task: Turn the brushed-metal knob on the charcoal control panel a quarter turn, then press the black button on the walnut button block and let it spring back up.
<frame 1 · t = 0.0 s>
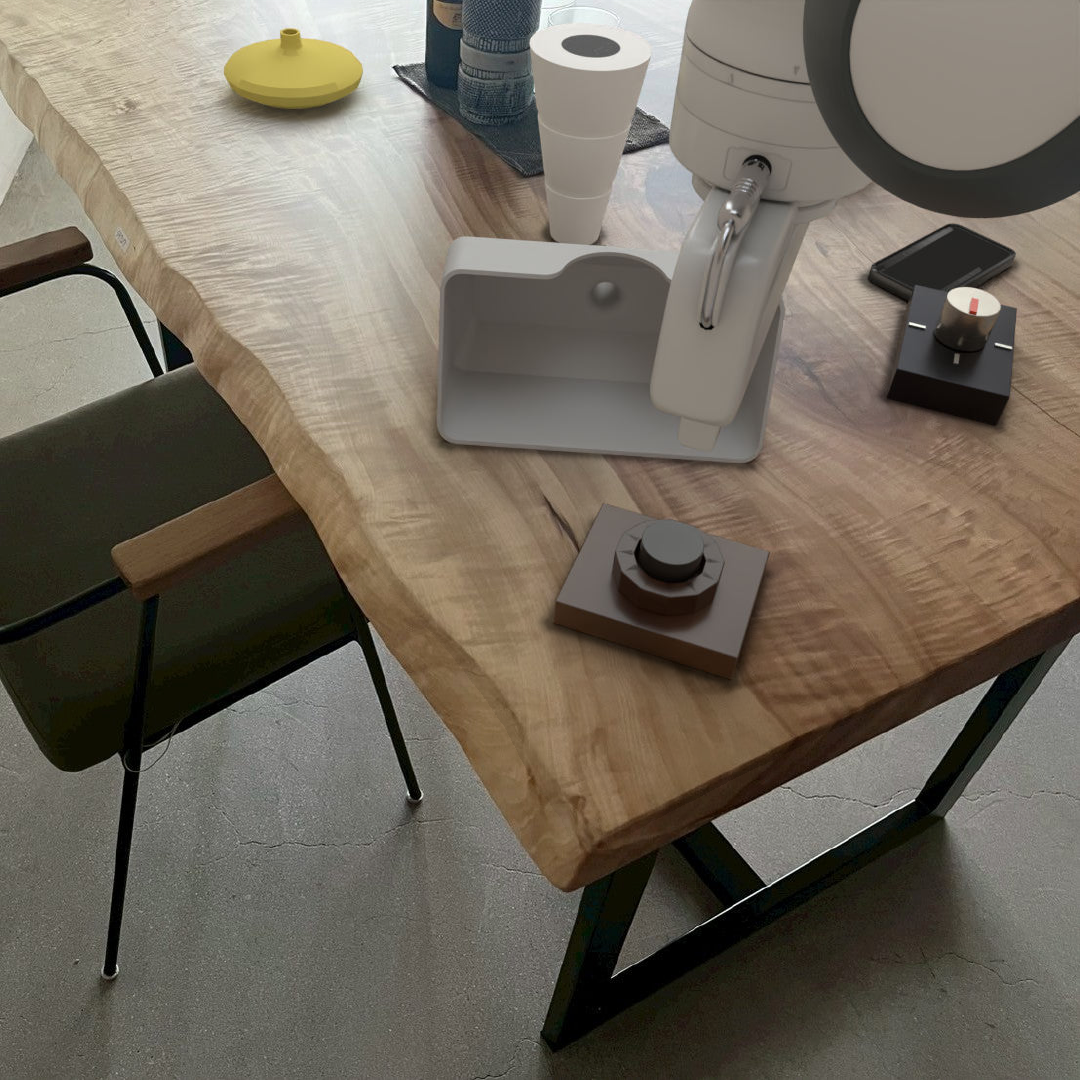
hand: (720, 384, 53), 21 cm above the table, tool pointing down, fingers open, 8 cm apart
vase: (297, 96, 123), on the table
phone: (940, 272, 103), on the table
panel: (947, 365, 91), on the table
knob: (967, 317, 88), point 5 cm above the table, hinge at 0.0°
bowl: (800, 164, 118), on the table
white tapered cylinder: (574, 235, 104), on the table
grey storage bin: (598, 392, 86), on the table
apple: (956, 185, 116), on the table
button block: (661, 597, 71), on the table
button: (671, 551, 67), point 4 cm above the table, slide at 0.1 cm
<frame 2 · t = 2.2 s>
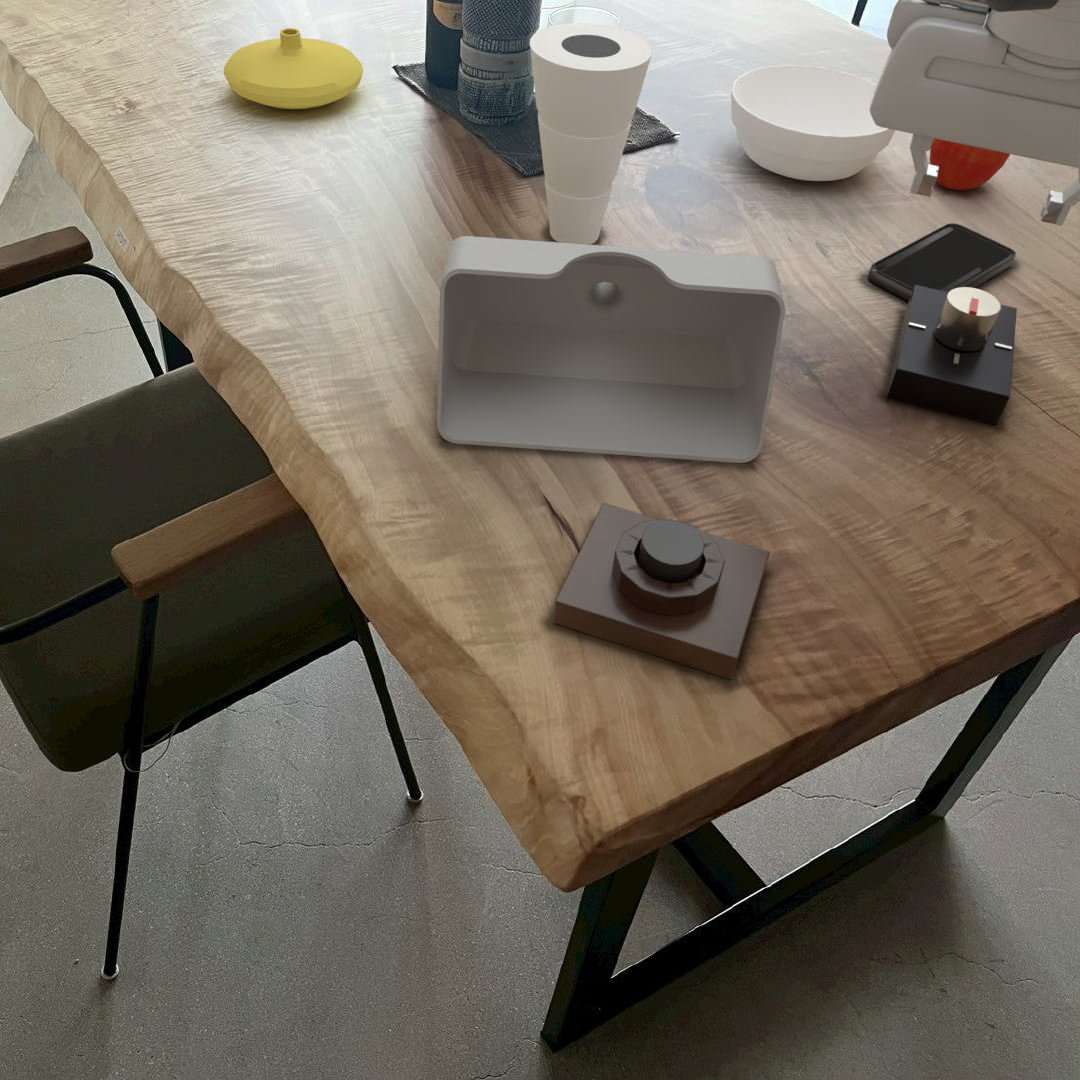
hand: (984, 205, 77), 17 cm above the table, tool pointing down, fingers open, 8 cm apart
nothing on the table moved.
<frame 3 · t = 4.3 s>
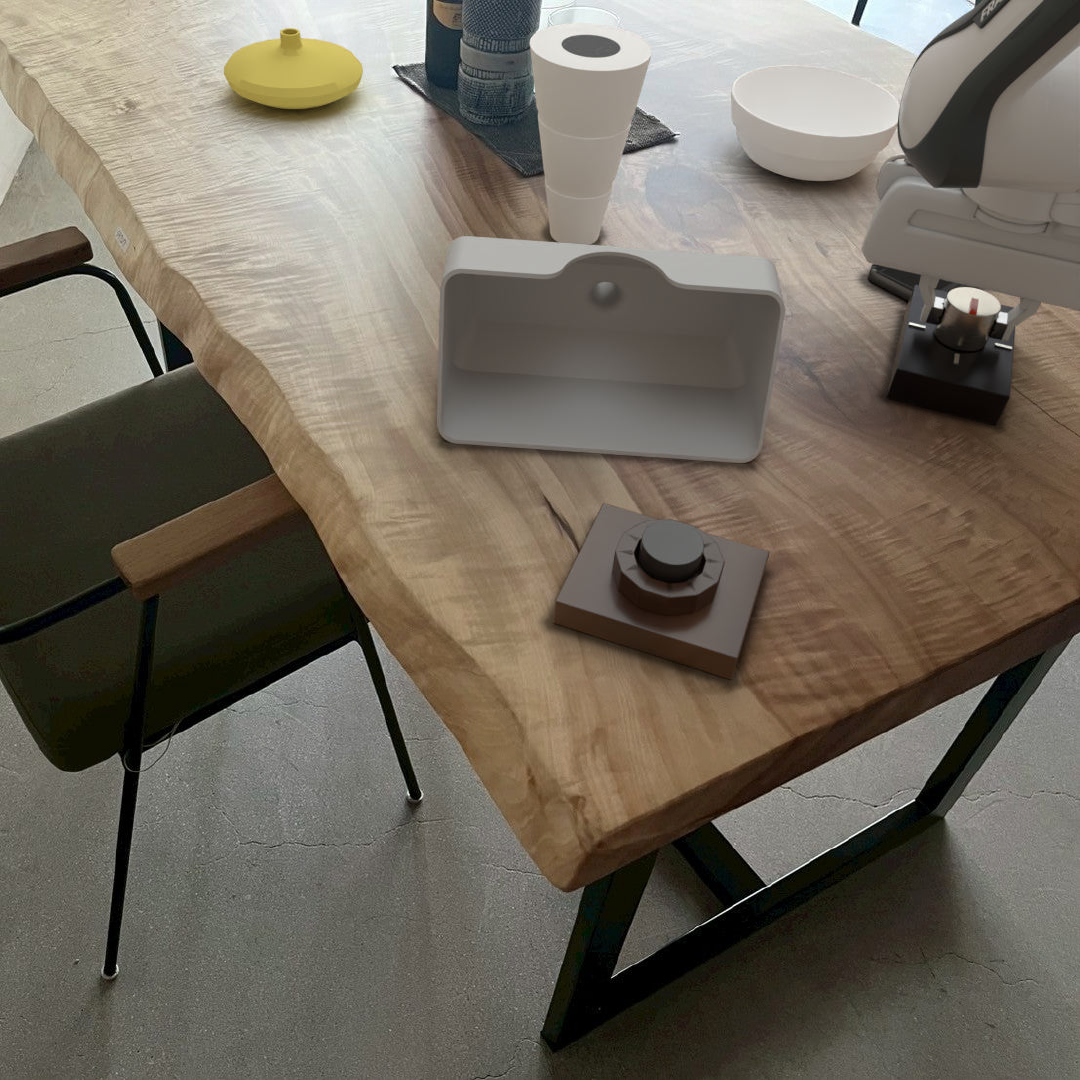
hand: (963, 328, 89), 4 cm above the table, tool pointing down, fingers closed on knob, 4 cm apart
knob: (967, 317, 88), point 5 cm above the table, hinge at -0.2°, touching gripper
everything else where it was.
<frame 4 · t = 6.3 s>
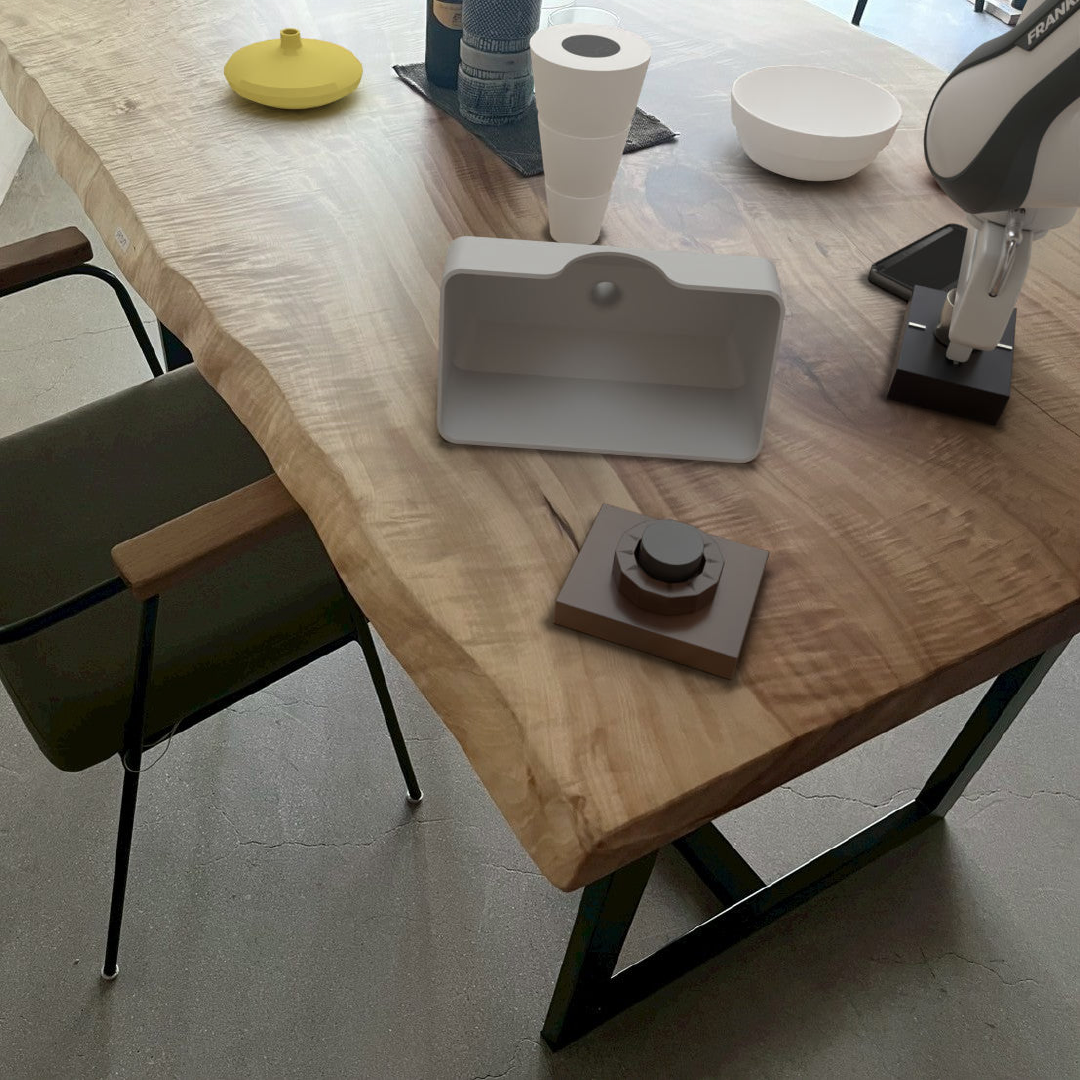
hand: (959, 334, 89), 3 cm above the table, tool pointing down, fingers open, 5 cm apart
knob: (967, 317, 88), point 5 cm above the table, hinge at 87.5°
everything else where it was.
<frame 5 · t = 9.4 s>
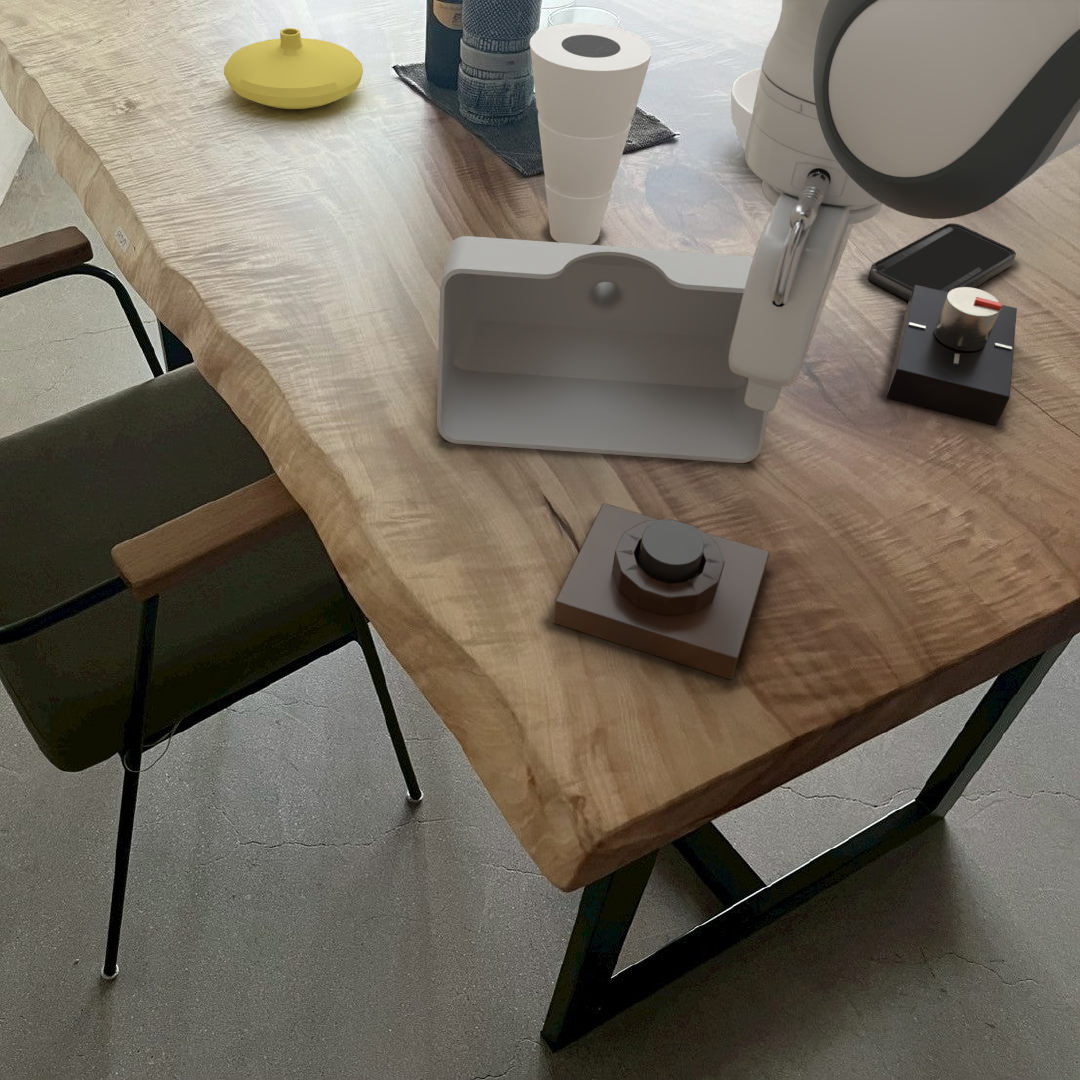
hand: (778, 358, 63), 16 cm above the table, tool pointing down, fingers open, 8 cm apart
nothing on the table moved.
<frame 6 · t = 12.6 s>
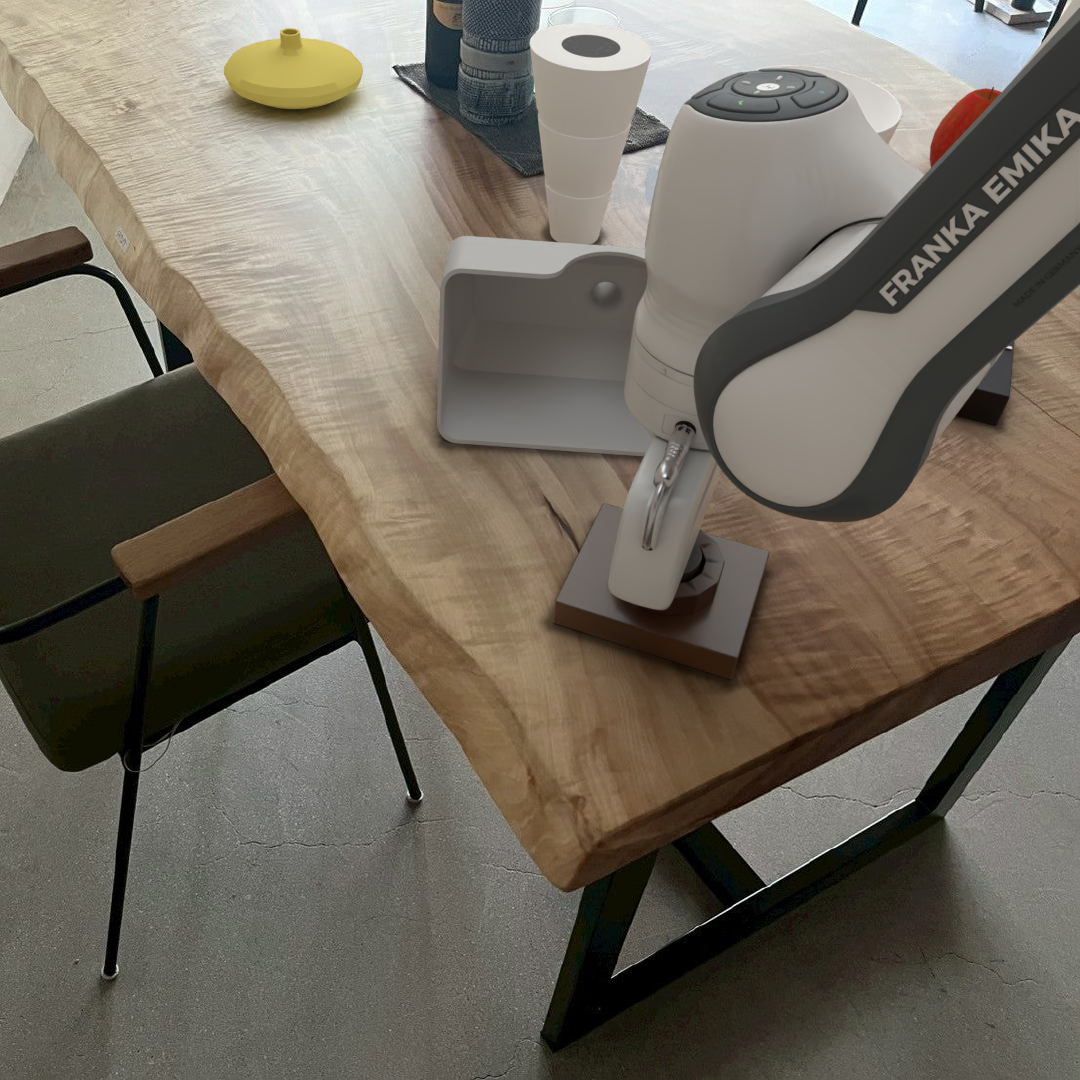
hand: (669, 550, 67), 5 cm above the table, tool pointing down, fingers closed, pressing on button
button: (669, 560, 68), point 4 cm above the table, slide at -0.8 cm, touching gripper
everything else where it was.
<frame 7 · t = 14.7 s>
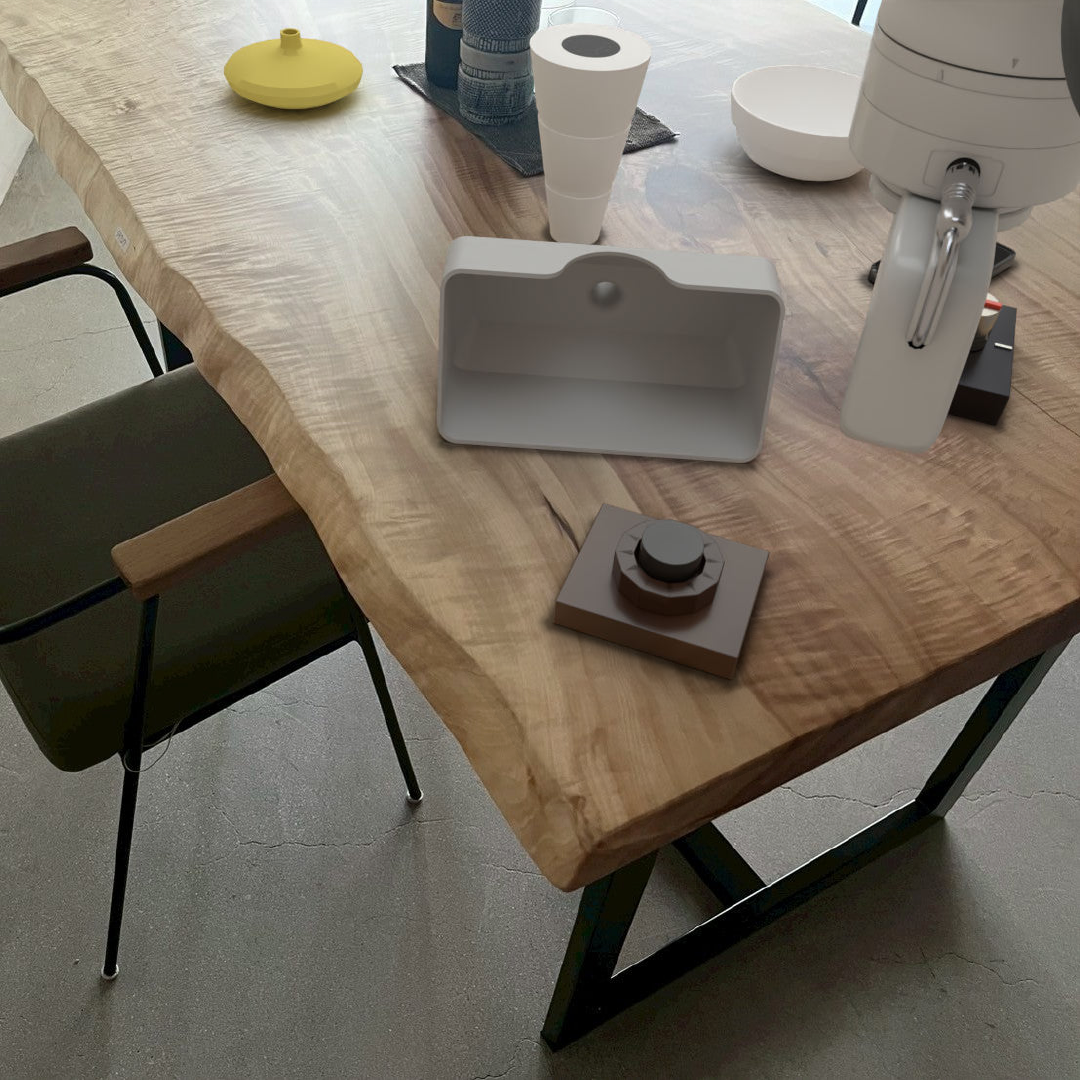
hand: (880, 407, 49), 23 cm above the table, tool pointing down, fingers closed
button: (671, 551, 67), point 4 cm above the table, slide at 0.1 cm
everything else where it was.
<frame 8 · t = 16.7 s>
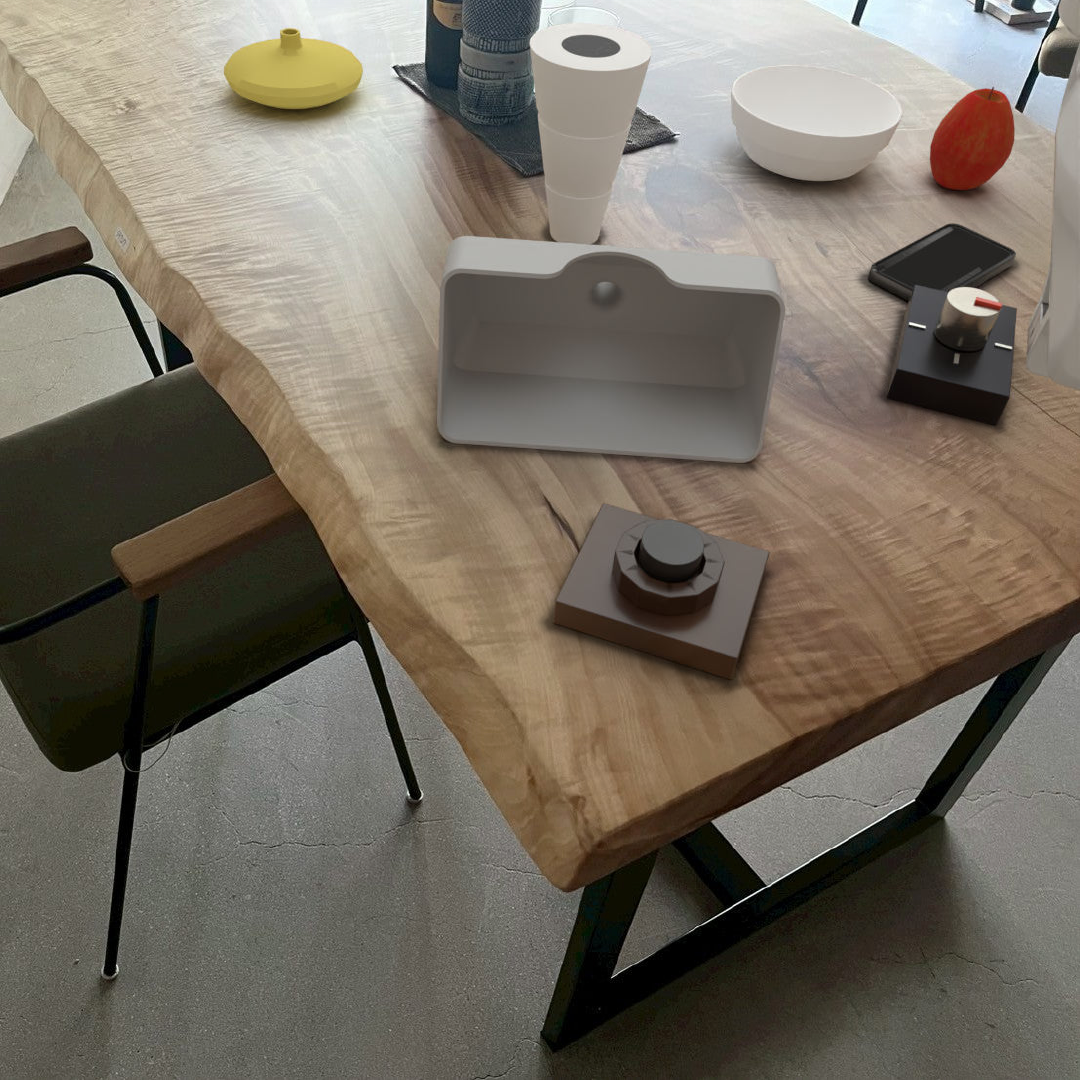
hand: (1046, 357, 42), 29 cm above the table, tool pointing down, fingers closed
nothing on the table moved.
at the end: knob at +88° (first picture: +0°); button pushed in 1.0 cm at the most during the clip, back to where it started at the end; button slide at 0.1 cm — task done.
